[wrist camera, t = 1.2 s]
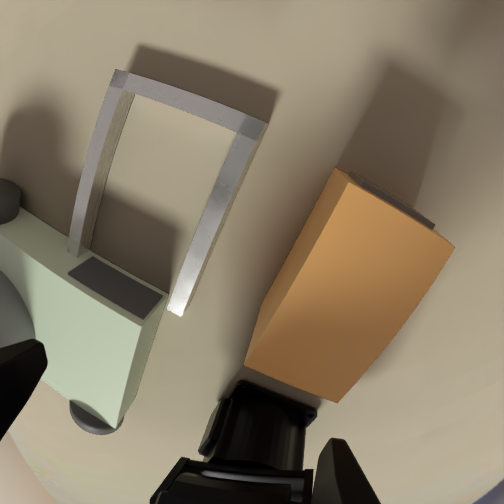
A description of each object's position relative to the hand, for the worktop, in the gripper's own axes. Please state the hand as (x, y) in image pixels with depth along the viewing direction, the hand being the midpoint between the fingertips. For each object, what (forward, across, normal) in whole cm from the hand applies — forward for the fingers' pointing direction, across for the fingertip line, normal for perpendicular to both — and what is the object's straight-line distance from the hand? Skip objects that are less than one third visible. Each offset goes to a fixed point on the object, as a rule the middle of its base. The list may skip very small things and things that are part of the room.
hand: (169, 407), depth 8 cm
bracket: (+11, +6, -2) cm, 13 cm away
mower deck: (+12, +15, +8) cm, 20 cm away
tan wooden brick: (+12, -5, -1) cm, 13 cm away
